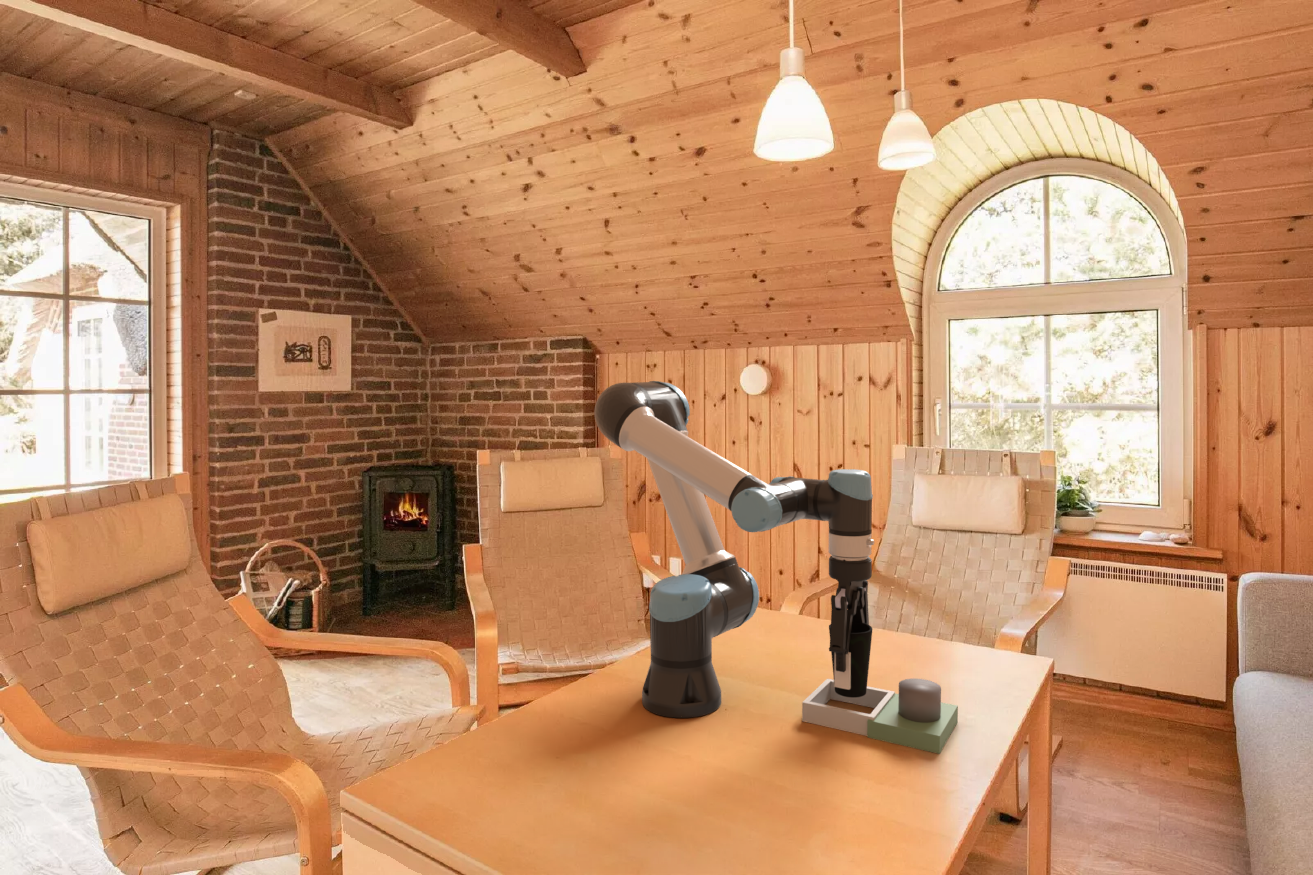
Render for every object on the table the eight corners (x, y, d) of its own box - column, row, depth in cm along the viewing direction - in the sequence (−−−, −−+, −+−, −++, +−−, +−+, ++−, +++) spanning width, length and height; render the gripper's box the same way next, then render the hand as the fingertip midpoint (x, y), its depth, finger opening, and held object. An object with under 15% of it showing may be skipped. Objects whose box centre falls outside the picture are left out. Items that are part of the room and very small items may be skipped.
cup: (873, 701, 143) (873, 634, 142) (829, 698, 144) (829, 632, 143) (870, 684, 150) (871, 621, 149) (828, 682, 152) (828, 619, 151)
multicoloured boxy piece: (801, 722, 145) (801, 678, 144) (828, 695, 157) (828, 655, 156) (939, 753, 132) (940, 706, 132) (957, 721, 144) (958, 678, 144)
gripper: (852, 570, 135) (852, 703, 136) (887, 547, 152) (886, 665, 154) (809, 565, 138) (809, 695, 140) (848, 543, 156) (848, 659, 158)
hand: (850, 679), depth 147 cm, fingers closed on cup, 8 cm apart
